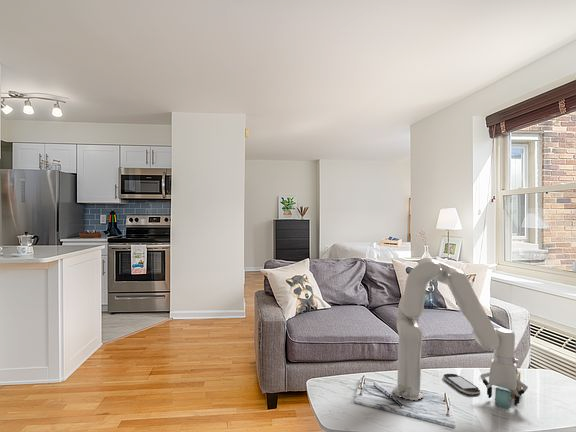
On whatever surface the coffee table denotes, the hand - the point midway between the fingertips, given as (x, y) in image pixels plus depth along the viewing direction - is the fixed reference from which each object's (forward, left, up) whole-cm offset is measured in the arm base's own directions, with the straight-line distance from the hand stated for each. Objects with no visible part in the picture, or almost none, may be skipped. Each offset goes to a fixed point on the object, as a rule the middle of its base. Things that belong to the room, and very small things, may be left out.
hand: (502, 400), depth 156 cm
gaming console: (+7, +18, -2) cm, 20 cm away
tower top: (+13, -1, +3) cm, 14 cm away
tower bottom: (+13, -1, -2) cm, 13 cm away
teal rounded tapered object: (0, 0, -2) cm, 2 cm away
